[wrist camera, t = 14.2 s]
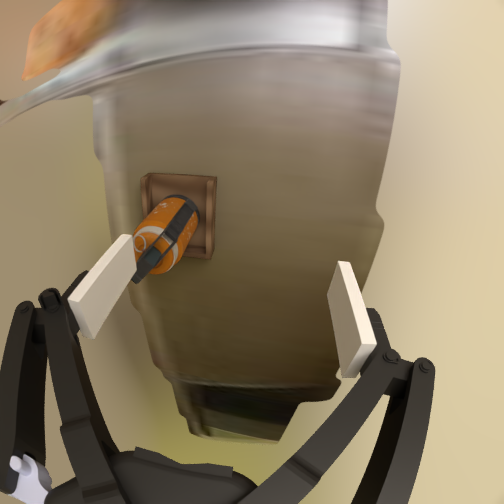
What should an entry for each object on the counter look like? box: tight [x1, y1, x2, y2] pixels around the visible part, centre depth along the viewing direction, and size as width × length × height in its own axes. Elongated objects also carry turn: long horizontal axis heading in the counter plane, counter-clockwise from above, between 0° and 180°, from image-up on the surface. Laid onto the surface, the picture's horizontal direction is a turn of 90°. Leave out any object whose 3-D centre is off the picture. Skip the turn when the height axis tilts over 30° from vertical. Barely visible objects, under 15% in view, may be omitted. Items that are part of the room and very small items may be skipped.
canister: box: [131, 194, 200, 284], centre depth 46 cm, size 9×11×20 cm
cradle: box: [141, 173, 217, 259], centre depth 54 cm, size 16×14×4 cm
